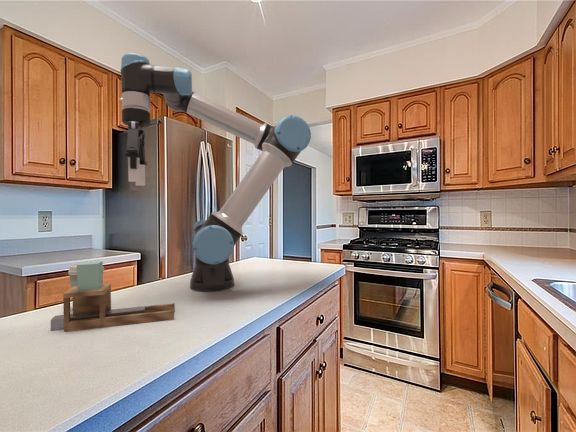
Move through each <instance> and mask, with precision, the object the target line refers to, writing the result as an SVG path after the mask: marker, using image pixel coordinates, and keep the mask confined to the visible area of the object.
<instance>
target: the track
mask: <svg viewBox="0 0 576 432" xmlns="http://www.w3.org/2000/svg"><path fill="white" fill-rule="evenodd" d="M111 285H112V283H103V286H102V287H101V288H100V289H99V290H86V291H78V288H77V286H74V287H72V288H71V287H70V288H69V289H68V290H66V291H65V292H63V293H62V296H63V297H62V299H63V302H62V305H63V308H62V309H63V315H64V329H63V332H74V331H80V330H89V329H101V328H108V327H118V326H126V325H135V324H144V323H154V322H162V321H171V320H174V319H175V310H176V307H175V306H176V305H175V303H163V304H154V305H146V306H145V305H144V306H145V310H146V313H140V314H131V315H121V316H111V317H106V310H113V309H112V286H111ZM71 298H72V314H76V313H85V312H95V311H100V318H92V319H82V320H73V321H71V316H70V314H71ZM123 308H124V307H123ZM123 308H120V309H123Z"/></svg>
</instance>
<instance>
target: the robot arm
mask: <svg viewBox="0 0 576 432" xmlns="http://www.w3.org/2000/svg"><path fill="white" fill-rule="evenodd" d="M150 63H151V62H150V60H149V59H148V57H146V56H144V55H142V54H138V53H136V52H135V53H134V52H129V53H125V54H123V55H122V56H121V62H120V64H121V68H120V79H121V80H120V81H121V82H120V83H121V86H120V87H121V97H119V99H118V100H119V102H121V108H122V110H121V122H122V124H124V125H126V126H127V129H128V130H127V140H126V141H127V142H126V143H127V144H126V152H124V157H127V163H128V164H127V166H128V167H127V168H128V169H127V170H128V173H127V174H128V175H127V176H128V177H127V178H128V182H129V183H130V182H131V183H133V182H135V187H137V186H139V187H140V186H141V187H142V186H143V187H145V186H146V166H148V162H147V161H146V151H145V137H146V135H145V131H144V129H143V128H147V127H149V126H150V125H151V95H150V94H151V93H154V94H162V95H163V99H164V101H165V103H166V105H167V107H168V108H170V110H173V111H175V112H183V113H185V114H188V115H190V116H191V117H194V118H196V119H199V120H200V121H203V122H205V123H208V124H209V125H211V126H214V127H216V128H218V129H220V130H222V131H225V132H227V133H229V134H231V135H233V136H235V137H238V138H240V139H242V140H244V141H246V142H248V143H251V144H253V145H254V146H253V147H254V148H255V149H257V150H260V151H261V153H260V155H258V157H257V158H256V160H255V161H254V162H253V164H252V165H251V167H250V168H249V169H248V171H247V172H246V173H245V175H244V176H243V178H242V179H241V181H240V182H239V183H238V185H237V186H236V187H235V189H234V190H233V191H232V193H231V194H230V196H229V197H228V199H227V200H226V202H224V204H223V205H222V207H221V208H220V209H219V210H218V211H216V212H215V211H214V212H211V213H210V215H208V218H207V219H203V220H198V221H196V222H195V223H194V227H193V232H194V236H193V239H192V243H191V244H192V245H191V246H192V250H193V253H194V268H193V271H192V275H191V278H190V281H189V288H190V289H191V290H193V291H197V292H217V291H223V290H227V289H230V288H233V287H234V286H235V278H234V275H233V271H232V269H231V266H230V257H231V256H232V254H233V251H234V248H235V246H236V245H237V243H238V241H239V240H240V239H241V237H242V236H243V233H244V232H243V226H244V224H245V223H246V222H247V220H248V219H249V218H250V216H251V214H252V213H253V212H254V210H255V209H256V208H257V206H258V205H259V203H260V202H261V201H262V199H263V198H264V196H265V195H266V194H267V192H268V191H269V190H270V188H271V186H272V185H273V183H274V182H275V181H276V180H277V178H278V176H279V175H280V173H282V171H283V169H284V168H287V167H291V166H292V165H293V163H294V162H295V161H296V159H297V158H298V157H299V156H300V154H301V152H302V151H304V150H305V149H306V148H308V146H309V144H310V143H311V139H312V133H311V129H310V125H309V124H308V122H306V121H305V119H304V118H302V117H300V116H298V115H293V114H292V115H291V114H290V115H285V116H283V117H282V118H280V119H278V121H277V122H276V124H275V126H274V125H272V124H271V125H270V124H269V123H263V124H262V123H260V122H257V121H256V120H253V119H251V118H249V117H246V115H243V114H241V113H238V112H237V111H234V110H233V109H230V108H229V107H226V106H224V105H222V104H220V103H219V102H218V103H217V102H216V101H213V100H211V99H210V98H207V97H206V96H203V95H201V94H199V93H197V92H195V91H193V78H192V76H193V75H192V71H191V70H190V69H188V68H182V67H180V66H179V67H178V66H176V67H175V66H165V65H164V66H163V65H154V64H150Z"/></svg>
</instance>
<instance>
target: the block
mask: <svg viewBox="0 0 576 432" xmlns="http://www.w3.org/2000/svg"><path fill="white" fill-rule="evenodd" d="M103 267H104V265H103V260H102V261H101V260H100V261H98V260H97V261H81V262H80V263H78V265H77V288H78V291H86V290H99V289H100V288H101V287H102V286H103V284H104V281H103V280H104V271H103Z"/></svg>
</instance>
